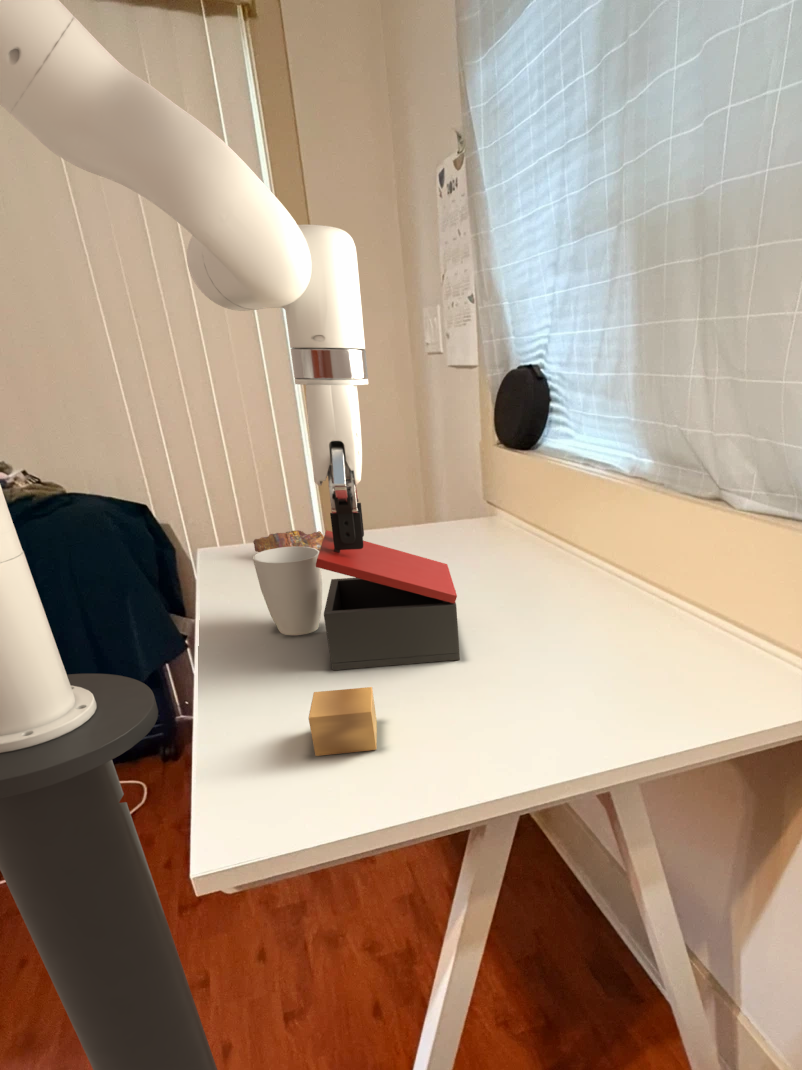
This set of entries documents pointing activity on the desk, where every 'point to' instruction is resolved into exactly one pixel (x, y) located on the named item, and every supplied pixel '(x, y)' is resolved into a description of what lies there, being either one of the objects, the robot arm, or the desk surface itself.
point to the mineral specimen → (289, 540)
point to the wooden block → (343, 721)
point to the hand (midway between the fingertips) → (349, 541)
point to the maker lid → (389, 568)
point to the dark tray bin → (387, 626)
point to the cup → (291, 587)
